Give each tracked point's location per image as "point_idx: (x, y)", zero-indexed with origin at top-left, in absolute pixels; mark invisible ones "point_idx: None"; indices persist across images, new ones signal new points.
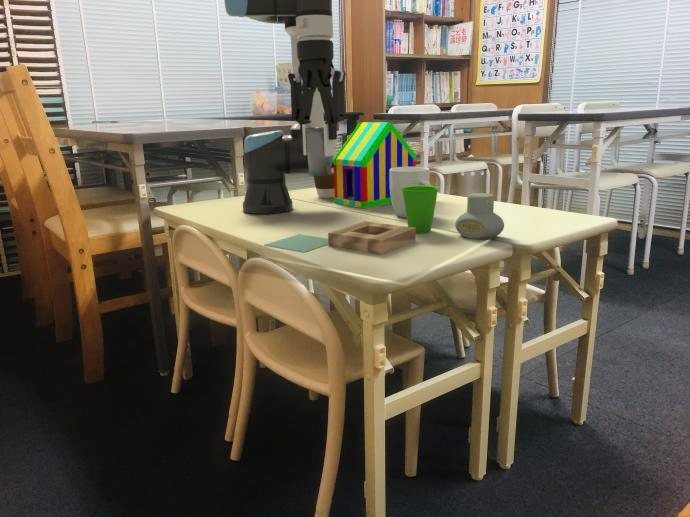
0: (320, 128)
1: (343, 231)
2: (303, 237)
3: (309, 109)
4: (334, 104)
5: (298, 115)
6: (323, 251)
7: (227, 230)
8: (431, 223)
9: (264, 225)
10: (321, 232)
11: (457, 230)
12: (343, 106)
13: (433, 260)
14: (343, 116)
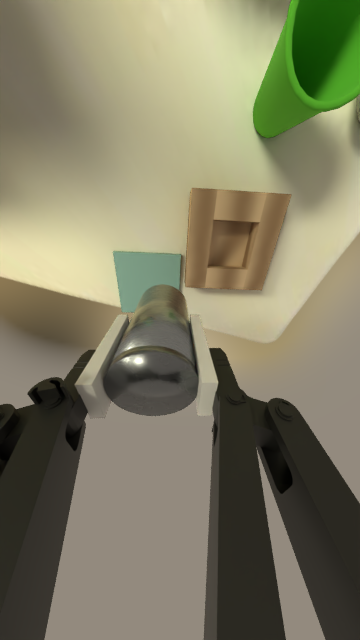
0: (186, 406)
1: (199, 272)
2: (132, 264)
3: (53, 486)
4: (300, 536)
5: (10, 450)
6: (187, 294)
7: (4, 270)
8: (309, 91)
9: (2, 211)
10: (119, 208)
11: (358, 113)
12: (345, 495)
13: (309, 269)
14: (298, 424)
